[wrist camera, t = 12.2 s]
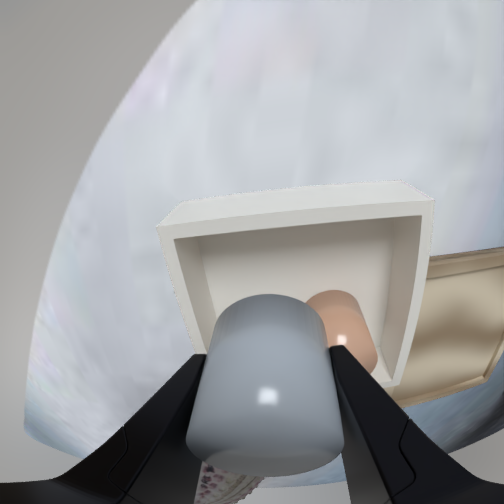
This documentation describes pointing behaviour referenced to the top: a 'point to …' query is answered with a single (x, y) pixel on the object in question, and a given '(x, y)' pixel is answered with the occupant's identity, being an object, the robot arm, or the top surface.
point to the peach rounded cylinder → (345, 325)
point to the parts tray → (455, 327)
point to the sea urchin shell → (223, 486)
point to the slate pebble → (267, 391)
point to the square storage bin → (306, 256)
